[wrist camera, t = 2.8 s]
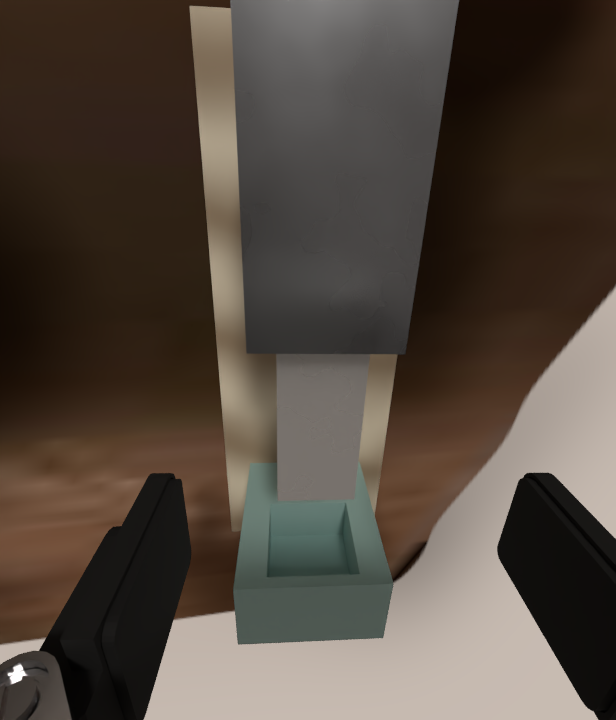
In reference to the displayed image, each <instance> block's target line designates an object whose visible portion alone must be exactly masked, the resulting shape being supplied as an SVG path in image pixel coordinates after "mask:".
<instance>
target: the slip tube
mask: <svg viewBox="0 0 616 720" xmlns="http://www.w3.org/2000/svg"><path fill="white" fill-rule="evenodd" d="M369 359H370V354H276V363H277V492H278V501H302V500H350V499H354V498H355V488H356V479H357V470H358V461H359V451H360V442H361V433H362V424H363V415H364V405H365V396H366V387H367V378H368V368H369Z"/></svg>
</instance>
